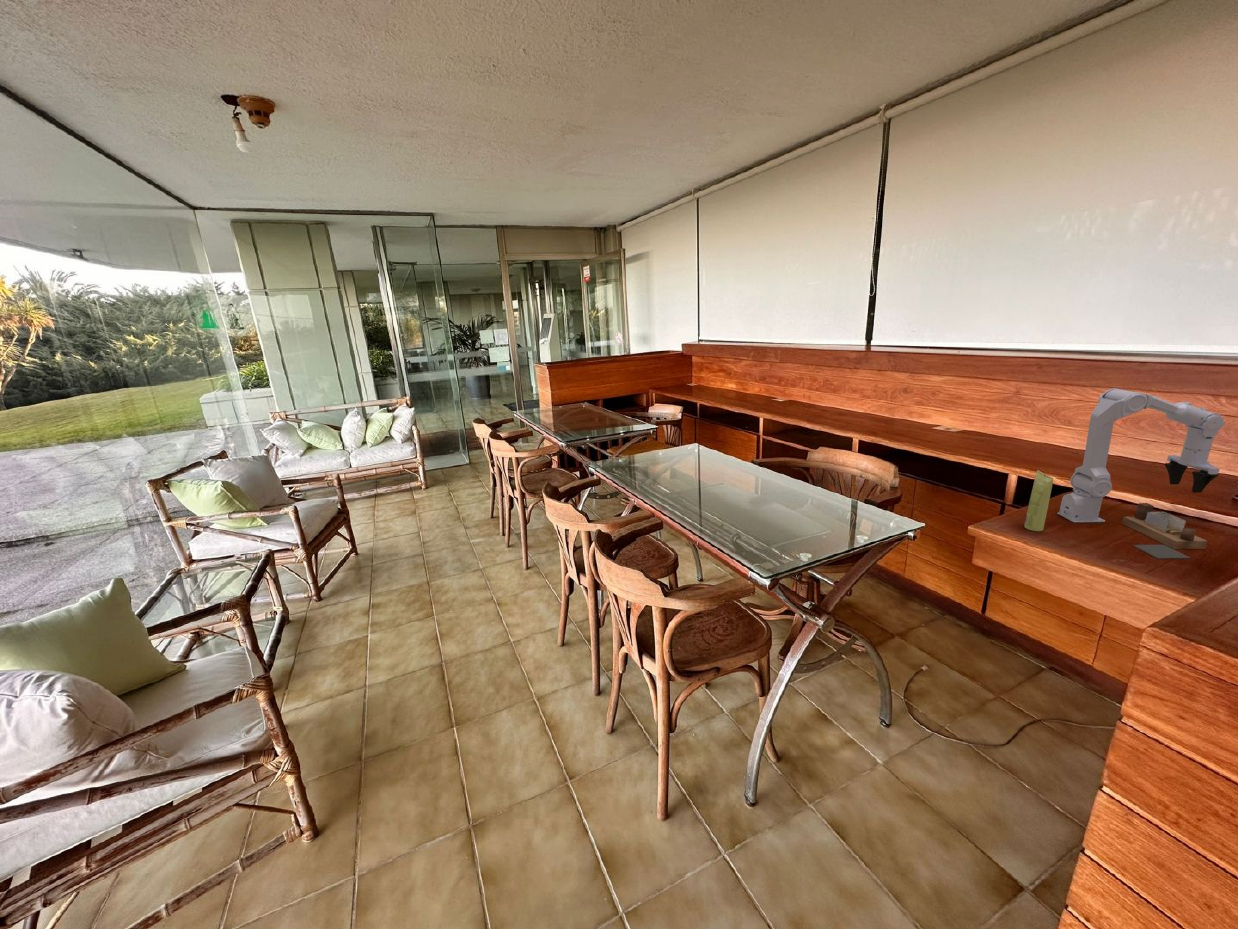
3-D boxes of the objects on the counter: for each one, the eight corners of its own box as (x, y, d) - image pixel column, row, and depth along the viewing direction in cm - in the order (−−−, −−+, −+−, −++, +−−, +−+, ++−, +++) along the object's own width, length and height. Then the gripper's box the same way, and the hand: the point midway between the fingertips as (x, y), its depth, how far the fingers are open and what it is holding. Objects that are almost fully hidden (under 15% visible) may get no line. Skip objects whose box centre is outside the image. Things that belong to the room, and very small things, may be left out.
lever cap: (1165, 533, 147) (1168, 521, 146) (1144, 523, 153) (1147, 512, 152) (1182, 532, 146) (1185, 520, 145) (1160, 523, 153) (1164, 511, 151)
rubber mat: (1157, 559, 138) (1157, 557, 138) (1133, 546, 146) (1133, 545, 146) (1189, 558, 137) (1190, 557, 137) (1163, 545, 145) (1163, 544, 144)
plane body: (1173, 549, 143) (1180, 525, 140) (1121, 523, 160) (1127, 502, 157) (1205, 548, 141) (1212, 525, 139) (1149, 523, 158) (1155, 502, 156)
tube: (1048, 529, 160) (1059, 473, 154) (1042, 533, 157) (1053, 477, 152) (1027, 524, 164) (1037, 470, 159) (1021, 528, 162) (1031, 473, 156)
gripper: (1235, 454, 147) (1222, 495, 151) (1188, 442, 160) (1178, 480, 164) (1208, 455, 148) (1196, 496, 152) (1164, 443, 162) (1154, 481, 166)
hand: (1185, 488), depth 158 cm, fingers open, 7 cm apart
